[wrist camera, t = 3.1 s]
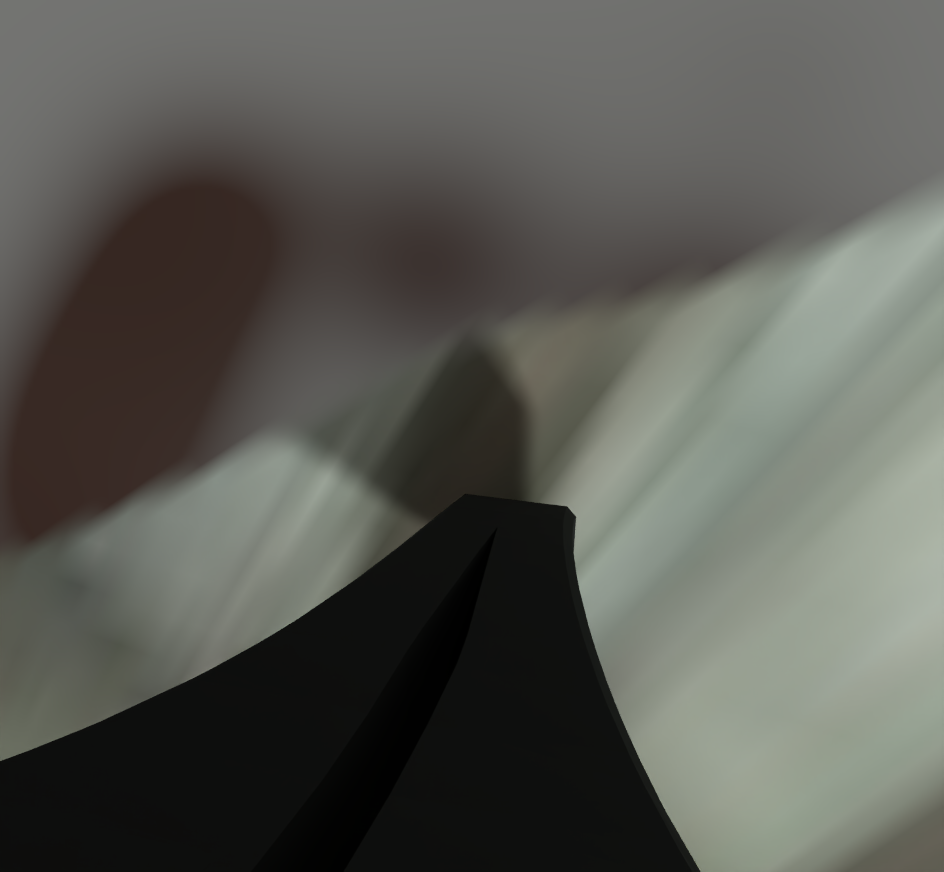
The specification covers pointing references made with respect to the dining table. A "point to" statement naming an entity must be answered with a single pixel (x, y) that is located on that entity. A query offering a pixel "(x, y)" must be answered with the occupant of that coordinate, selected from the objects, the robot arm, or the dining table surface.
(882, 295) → the dining table surface
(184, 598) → the dining table surface
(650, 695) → the dining table surface
